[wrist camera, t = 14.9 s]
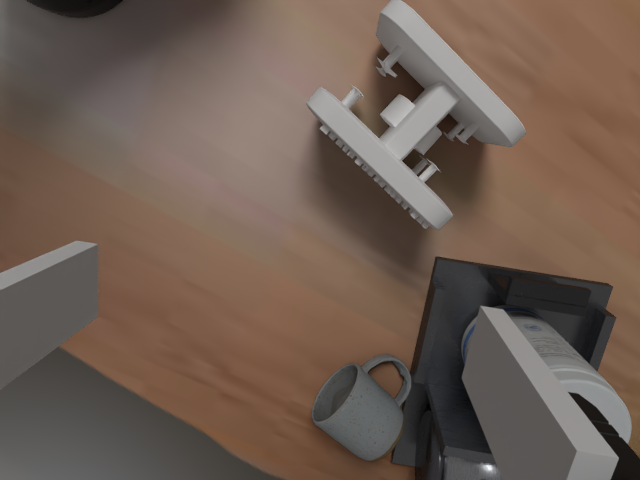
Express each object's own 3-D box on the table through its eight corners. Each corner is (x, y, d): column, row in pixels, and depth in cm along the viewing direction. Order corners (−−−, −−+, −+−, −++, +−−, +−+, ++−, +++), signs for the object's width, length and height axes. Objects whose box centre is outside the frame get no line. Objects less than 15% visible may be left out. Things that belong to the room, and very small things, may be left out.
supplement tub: (491, 395, 49) (545, 506, 35) (441, 334, 48) (476, 424, 33) (568, 349, 47) (660, 447, 33) (519, 283, 45) (591, 356, 31)
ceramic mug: (362, 433, 53) (364, 483, 46) (312, 391, 52) (306, 435, 45) (426, 378, 51) (439, 422, 43) (375, 333, 50) (379, 369, 42)
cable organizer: (495, 135, 43) (544, 140, 32) (417, 212, 45) (436, 241, 34) (386, 24, 41) (397, -12, 30) (311, 110, 44) (295, 106, 33)
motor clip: (437, 247, 46) (463, 288, 35) (610, 274, 45) (695, 325, 34) (391, 456, 53) (400, 546, 42) (539, 483, 53) (589, 582, 41)
